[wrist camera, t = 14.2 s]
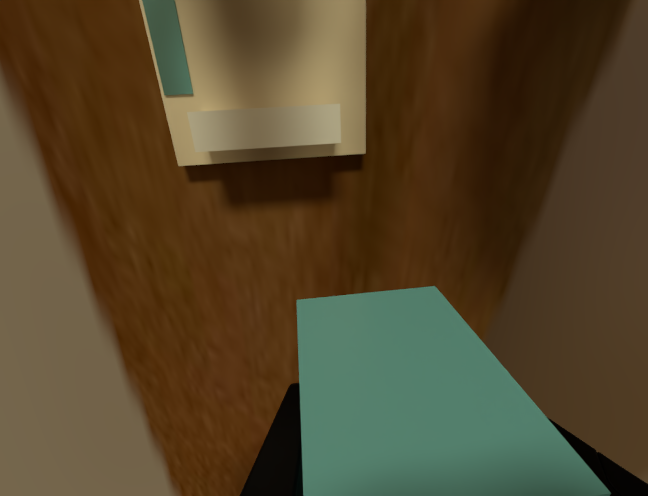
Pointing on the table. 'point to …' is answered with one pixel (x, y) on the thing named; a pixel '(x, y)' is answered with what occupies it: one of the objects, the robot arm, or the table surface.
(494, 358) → the teal plug
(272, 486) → the robot arm
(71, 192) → the table surface
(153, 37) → the backplate with mounted blocks
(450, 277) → the table surface
